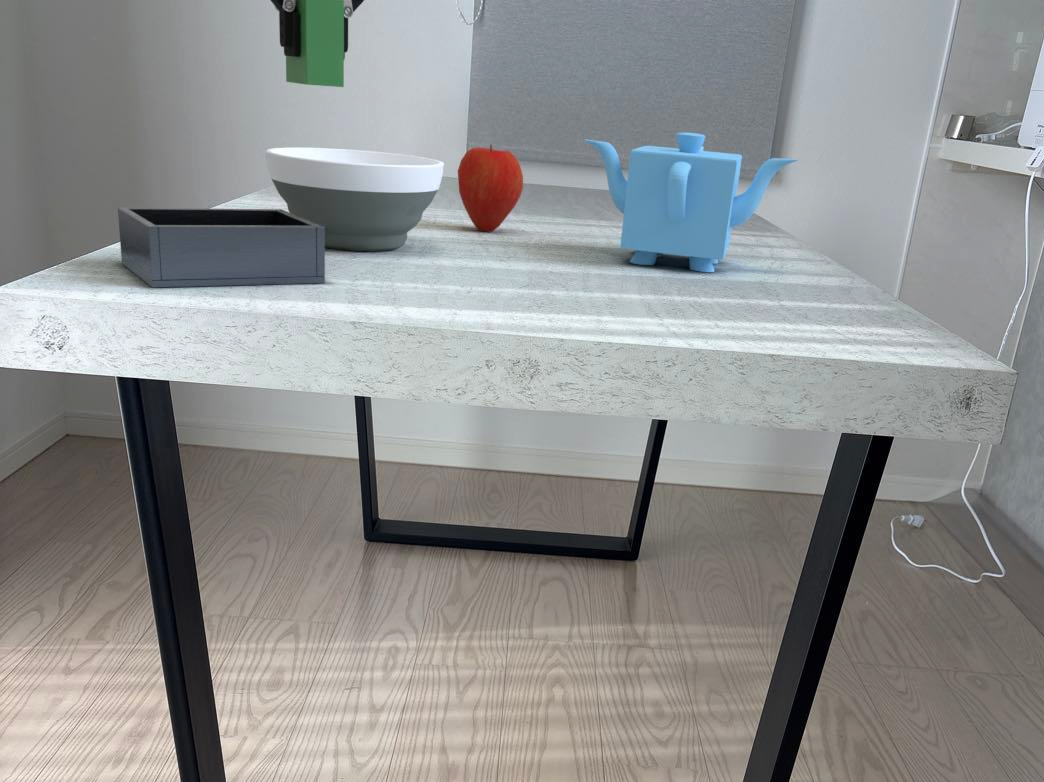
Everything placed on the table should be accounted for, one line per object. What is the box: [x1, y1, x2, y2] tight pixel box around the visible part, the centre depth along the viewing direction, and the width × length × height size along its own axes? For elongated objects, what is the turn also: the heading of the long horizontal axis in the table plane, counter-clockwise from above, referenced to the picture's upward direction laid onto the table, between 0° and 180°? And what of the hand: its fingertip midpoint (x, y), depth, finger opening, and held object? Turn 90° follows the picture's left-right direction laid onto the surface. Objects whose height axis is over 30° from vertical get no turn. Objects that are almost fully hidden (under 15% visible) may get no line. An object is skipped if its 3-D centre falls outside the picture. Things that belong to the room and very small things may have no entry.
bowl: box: [265, 147, 445, 252], centre depth 119 cm, size 20×20×10 cm
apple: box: [457, 144, 524, 233], centre depth 138 cm, size 9×8×11 cm
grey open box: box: [117, 206, 326, 289], centre depth 98 cm, size 16×12×5 cm
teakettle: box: [584, 132, 798, 273], centre depth 126 cm, size 19×19×15 cm
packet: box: [285, 0, 345, 88], centre depth 108 cm, size 6×4×8 cm, turn 32°
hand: (314, 56), depth 108 cm, fingers closed on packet, 4 cm apart
